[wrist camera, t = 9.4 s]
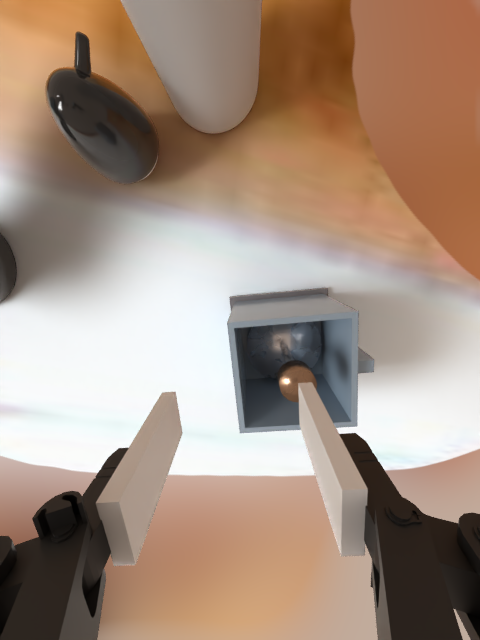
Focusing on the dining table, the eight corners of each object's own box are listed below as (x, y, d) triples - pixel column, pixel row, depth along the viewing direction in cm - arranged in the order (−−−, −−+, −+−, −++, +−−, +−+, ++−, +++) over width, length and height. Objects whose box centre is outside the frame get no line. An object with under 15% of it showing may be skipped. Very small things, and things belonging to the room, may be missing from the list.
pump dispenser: (177, 131, 37) (128, 47, 22) (154, 201, 39) (97, 168, 25) (112, 99, 36) (17, -8, 22) (93, 173, 39) (-4, 122, 24)
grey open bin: (239, 382, 46) (234, 439, 32) (229, 296, 43) (219, 316, 28) (337, 375, 45) (377, 430, 31) (336, 286, 41) (381, 302, 27)
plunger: (250, 380, 42) (250, 434, 29) (243, 312, 39) (240, 339, 26) (321, 375, 41) (352, 428, 28) (319, 306, 38) (353, 330, 26)
